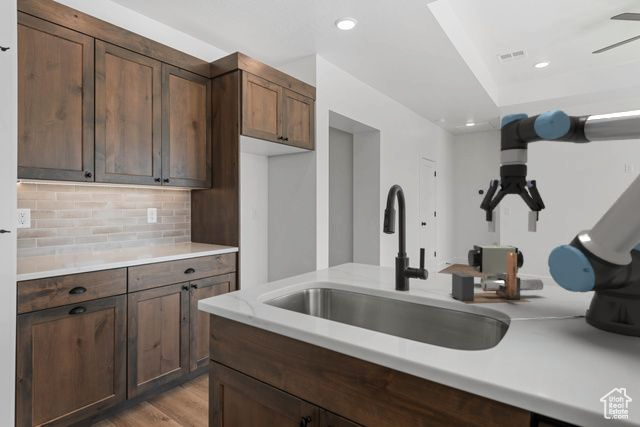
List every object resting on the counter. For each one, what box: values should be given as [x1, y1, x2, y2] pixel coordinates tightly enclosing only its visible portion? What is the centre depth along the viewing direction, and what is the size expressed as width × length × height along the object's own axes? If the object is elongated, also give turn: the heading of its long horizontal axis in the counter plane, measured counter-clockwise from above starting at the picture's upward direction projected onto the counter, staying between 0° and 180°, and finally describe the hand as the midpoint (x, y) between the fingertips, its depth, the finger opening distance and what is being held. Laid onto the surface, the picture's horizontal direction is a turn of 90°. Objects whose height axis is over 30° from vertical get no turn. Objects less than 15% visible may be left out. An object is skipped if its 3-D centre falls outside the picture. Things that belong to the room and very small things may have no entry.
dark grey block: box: [451, 271, 475, 302], centre depth 116 cm, size 7×4×8 cm, turn 5°
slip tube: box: [480, 253, 544, 295], centre depth 114 cm, size 20×10×14 cm, turn 95°
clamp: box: [495, 273, 521, 300], centre depth 117 cm, size 7×4×7 cm, turn 5°
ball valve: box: [467, 241, 525, 283], centre depth 134 cm, size 18×8×18 cm, turn 84°
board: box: [449, 292, 531, 305], centre depth 117 cm, size 12×22×1 cm, turn 95°
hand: (512, 231), depth 110 cm, fingers open, 13 cm apart
